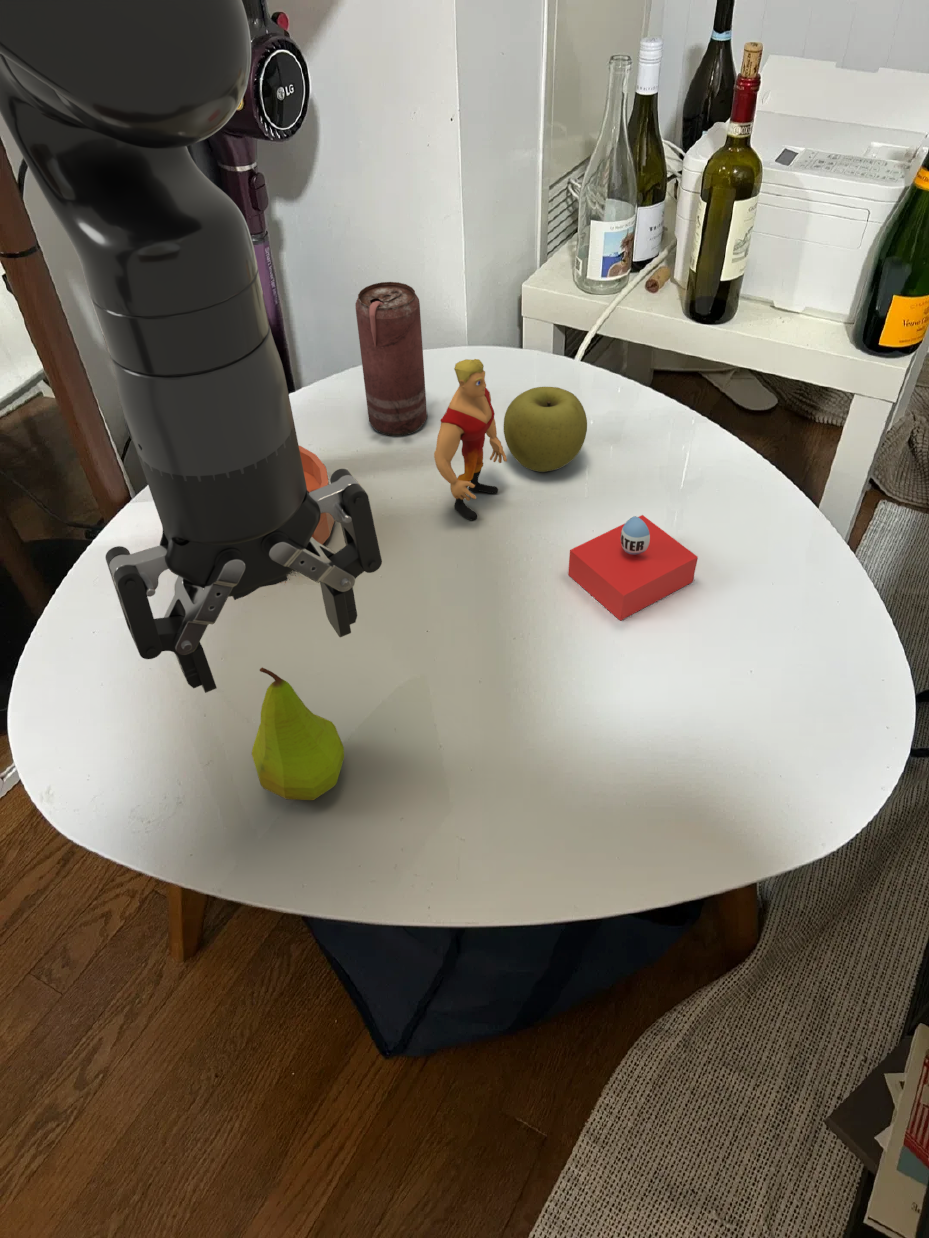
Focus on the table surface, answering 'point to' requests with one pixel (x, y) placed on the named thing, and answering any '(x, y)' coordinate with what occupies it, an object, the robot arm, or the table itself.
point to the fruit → (295, 746)
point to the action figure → (467, 435)
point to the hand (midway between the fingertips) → (274, 653)
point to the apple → (545, 428)
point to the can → (392, 357)
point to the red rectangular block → (632, 566)
